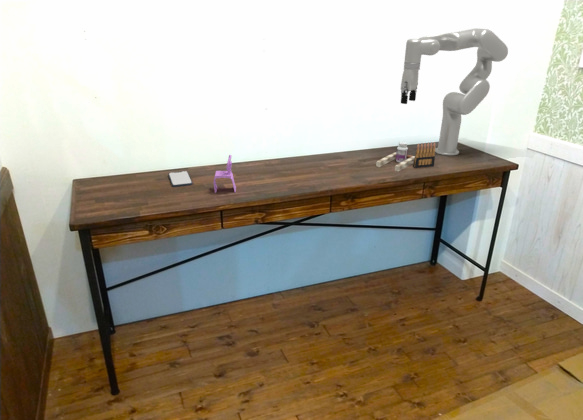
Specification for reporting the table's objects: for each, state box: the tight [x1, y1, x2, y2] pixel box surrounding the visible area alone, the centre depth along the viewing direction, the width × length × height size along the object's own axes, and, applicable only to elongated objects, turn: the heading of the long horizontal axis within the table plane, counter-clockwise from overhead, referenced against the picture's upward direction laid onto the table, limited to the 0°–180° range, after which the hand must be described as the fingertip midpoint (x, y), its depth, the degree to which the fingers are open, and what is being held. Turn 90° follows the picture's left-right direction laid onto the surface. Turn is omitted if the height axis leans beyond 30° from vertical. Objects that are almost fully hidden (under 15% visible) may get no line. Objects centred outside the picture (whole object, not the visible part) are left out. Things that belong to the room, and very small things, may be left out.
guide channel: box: [375, 151, 415, 172], centre depth 225 cm, size 20×12×2 cm, turn 142°
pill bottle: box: [395, 141, 409, 164], centre depth 228 cm, size 5×5×10 cm
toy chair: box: [213, 154, 237, 194], centre depth 188 cm, size 8×9×15 cm
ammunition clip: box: [412, 141, 436, 169], centre depth 221 cm, size 11×2×12 cm, turn 107°
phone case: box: [168, 170, 194, 188], centre depth 201 cm, size 9×2×16 cm
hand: (407, 102), depth 227 cm, fingers open, 9 cm apart
